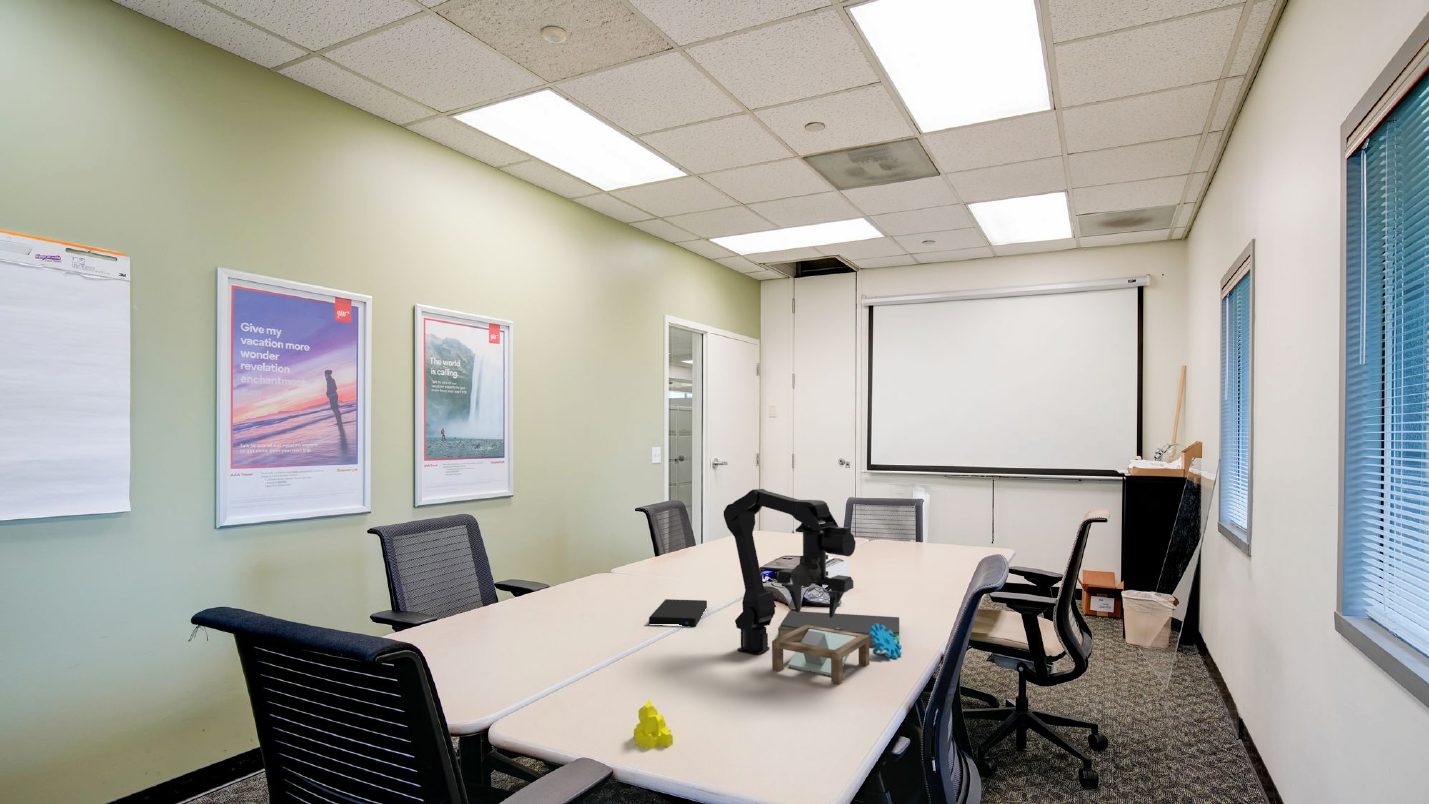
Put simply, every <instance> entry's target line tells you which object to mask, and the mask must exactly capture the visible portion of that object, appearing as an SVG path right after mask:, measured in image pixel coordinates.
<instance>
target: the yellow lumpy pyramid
mask: <svg viewBox="0 0 1429 804" xmlns="http://www.w3.org/2000/svg"><path fill="white" fill-rule="evenodd" d="M664 717H665V716H664V715H663V714H658V710H657V708H655V706H654V705H653V704H652V702H651V700H650V698H648V699H647V701H646V703H645V704H644V705H643V706H642V707H641V708H640V709H638V720H639V723H637V724H636V727H635V728H634V729H633V738H635V743H634V744H635V745H637V746H640V747H643V748H647V749H650V750H652V749H654V748H655V747H658V746H662V747H664V748H669V747H671V746H672V745H673V742H674V736H673V734H671V729H669V728H668V726H667V724H666V720H665V718H664Z"/></svg>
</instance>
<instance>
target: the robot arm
mask: <svg viewBox="0 0 1429 804" xmlns="http://www.w3.org/2000/svg"><path fill="white" fill-rule="evenodd" d="M762 507H764V508H767V509H770V510H774V511H777V512H779V513H784V514H788V515H790V516H792V517H793V518H794V520H795V521H798V523H799V522H800V525H799V526H797V527H796V528H795V532H796V533H802V555H800V558H799V563H798V564H797V565H796V566H795V567H794V568H784V569H781V570H779V571H778V573H777V574H776V582H777V583H779V584H781V587H783V588H785V589H786V590H787V591H788V593H789V595H790V597H791V600H792V602H793V606H794V608H795V611H796V612H800V611H801V606H802V590H803V589H802V587H803V588H809V587H811V586H812V584H815V585H823V586H828V588H829V590H828V591H827V594H828V596H829V606H828V607H829V612H828V613H829V615H830V618H832V617H833V616H834V613H836V610H837V608H838V606H839V603H840V601H841V599H842V597H843V596H844V594H845V593H847V592H849V591H850V590H852V589H854V580H853V578H852V576H849V575H842V574H840V575H839V574H837V575H835V576H831V577H829V571H827V560H829V555H836V556H843V557H851V556H852V555H853V554H854V552H855V549H856V540H855V537H854V535H853V533H852V532H851V527H847V526H845V527H843V526H842V527H841V526H839V524H838V523H837V521H836V520H835V518H834V516H833V515H832V513H831V511H830V508H829V506H828V503H827V502H826V501H824V500H820V499H798V498H794V497H791V496H787V495H783V494H779V493H776V492H772V491H768V490H767V489H764V488H756V489H755V488H754V489H751V490H749V491H748V492H747V493H746V494H745V495H743V496H742V497H740V498H738V499H736V500H735V501H734V502H732V503H729V504H728V505H726V506H725V509H724V510H723V519H724V521H725V525H726V528H727V529H728V531H730V533H731V534H732V535H733V537H734V541H735V545H736V551H737V554H738V555H737V556H738V561H739V566H740V570H741V574H742V579H743V585H744V594H743V598H742V603H741V604H742V605H741V606H742V612H741V613H740V614H739V615H738V616H737V617H736V618H735V621H734V623H735V626H736V629H739V630H740V647H738V648H737V651H738V652H743V653H747V654H752V655H760V654H762V653H764V652H766V651H768V650H770V646H769V636H768V635H769V633H768V632H767V626H771V623H772V619H773V618H774V616H775V614H776V609H775V608H777V605H776V603H775V598H774V593H773V591H770V592H768V591H767V589H766V588H765V587H764V584H763V579H762V573H761V568H760V564H759V560H758V555H757V548H756V545H755V538H754V534H753V532H754V530H755V526H756V515H757V514H758V513H759V512H760V511H761V509H762ZM828 554H829V555H828Z"/></svg>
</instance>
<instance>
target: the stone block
mask: <svg viewBox="0 0 1429 804" xmlns="http://www.w3.org/2000/svg"><path fill="white" fill-rule="evenodd" d="M800 643H801V644H805V645H811V646H816V647H822V648H827V649H829V648H828V644H827V640H826V637H825V633H819V632H813V631H808V632H807V633H806V635H805V637H804V638H803V640H802V641H800ZM804 657H805V660H806V662H807V663H812V664H817V665H822V666H823V664H824V662H825V661H826V659H827V658H825V657H820V656H815V655H810V654H805V653H804Z"/></svg>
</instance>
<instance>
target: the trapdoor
mask: <svg viewBox="0 0 1429 804" xmlns="http://www.w3.org/2000/svg"><path fill="white" fill-rule="evenodd" d="M808 631H813V632H819V633H825V637H826V640H827V644H828V648H829V649H832V650H836V649H837V648H839V647H841V646H842V645H844V644H846V643H847V642H849V641H851V640H853V639H854V638H856V637H855V636H849V635H843V634H837V633H831V632H826V631H820V630H814V629H809V630H808ZM800 644H801V642H800ZM849 656H850V654H848V655H847V656H845V657H843V667H844V665H845V664H846V661H847V660H848V658H849ZM787 665H788V667H789V668H790V667H791V669H796V670H800V669H801V670H800V671H805V672H809V671H811V672H810V673H814V672H815V674H820V675H823V674H826V675H825V676H828V675H830V676H829V677H831V659H830V658H827V659H826V661H825V662H824V664H823V666H822V665H817V664H812V663H807V662H806V660H805V657H804V653H799V652H794V653H793V655H792V657H791V659H790V660H789V662H788V664H787Z"/></svg>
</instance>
